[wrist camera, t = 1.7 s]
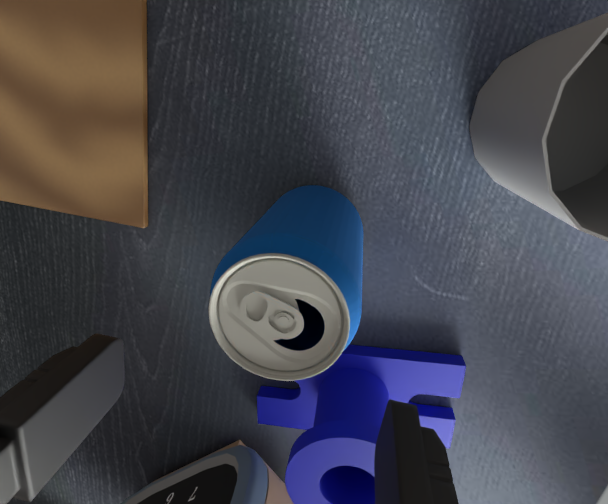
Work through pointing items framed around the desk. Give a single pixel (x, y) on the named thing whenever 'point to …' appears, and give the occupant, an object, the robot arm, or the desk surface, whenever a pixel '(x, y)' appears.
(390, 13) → the desk surface
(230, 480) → the alarm clock
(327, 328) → the beverage can
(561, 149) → the cup
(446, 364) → the mount
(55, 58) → the cork mat
